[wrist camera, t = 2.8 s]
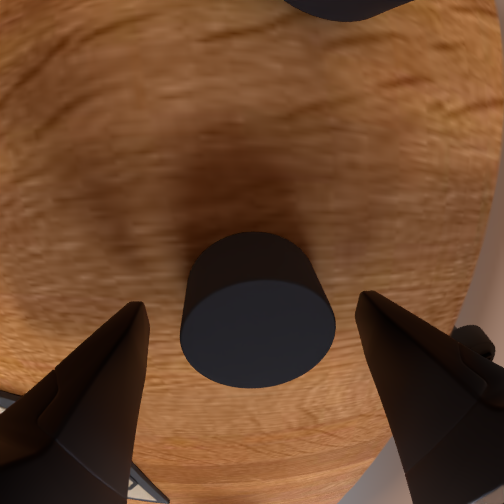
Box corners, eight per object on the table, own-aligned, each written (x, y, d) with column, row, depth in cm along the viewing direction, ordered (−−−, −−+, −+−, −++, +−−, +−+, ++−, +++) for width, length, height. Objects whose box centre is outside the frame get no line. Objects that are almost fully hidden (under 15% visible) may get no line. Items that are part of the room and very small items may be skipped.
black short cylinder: (320, 229, 9) (349, 273, 7) (306, 330, 11) (322, 382, 8) (181, 233, 8) (167, 281, 6) (194, 336, 10) (191, 391, 8)
